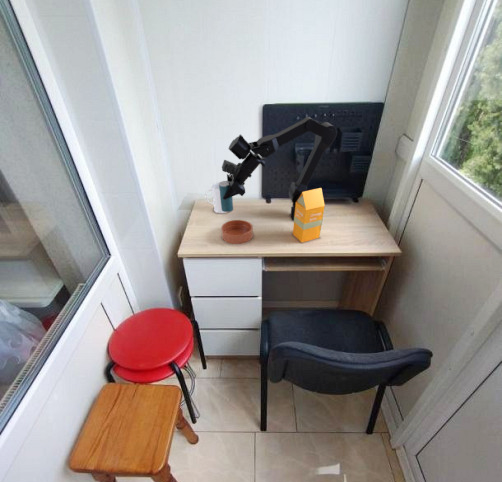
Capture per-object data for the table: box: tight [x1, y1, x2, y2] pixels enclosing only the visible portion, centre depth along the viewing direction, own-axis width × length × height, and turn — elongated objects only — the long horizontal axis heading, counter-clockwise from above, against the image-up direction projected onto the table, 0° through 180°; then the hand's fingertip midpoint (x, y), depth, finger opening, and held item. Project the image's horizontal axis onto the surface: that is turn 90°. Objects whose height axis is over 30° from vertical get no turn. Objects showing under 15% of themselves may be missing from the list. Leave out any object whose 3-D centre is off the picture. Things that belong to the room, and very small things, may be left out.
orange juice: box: [292, 187, 326, 243], centre depth 115 cm, size 8×9×20 cm
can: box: [219, 180, 234, 213], centre depth 122 cm, size 5×5×12 cm
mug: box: [204, 181, 228, 214], centre depth 137 cm, size 12×8×12 cm
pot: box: [220, 219, 254, 245], centre depth 121 cm, size 13×13×4 cm
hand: (223, 196), depth 121 cm, fingers closed on can, 5 cm apart
